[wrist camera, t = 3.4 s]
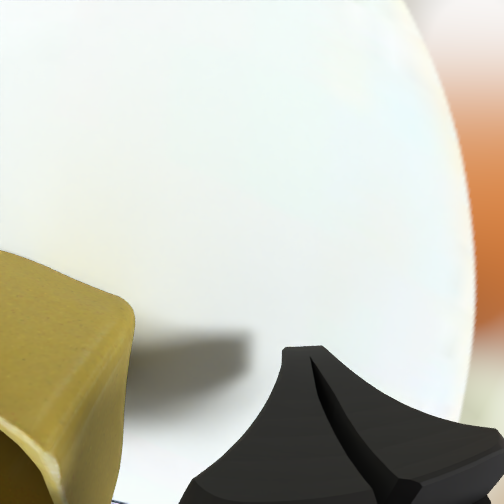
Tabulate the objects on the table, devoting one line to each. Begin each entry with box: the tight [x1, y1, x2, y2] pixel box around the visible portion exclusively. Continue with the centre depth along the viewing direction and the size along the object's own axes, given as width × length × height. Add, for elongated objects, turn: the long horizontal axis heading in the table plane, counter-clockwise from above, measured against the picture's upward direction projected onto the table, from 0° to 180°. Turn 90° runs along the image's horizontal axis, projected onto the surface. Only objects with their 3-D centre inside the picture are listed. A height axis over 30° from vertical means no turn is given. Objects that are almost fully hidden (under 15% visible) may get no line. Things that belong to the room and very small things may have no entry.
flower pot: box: [0, 250, 135, 504], centre depth 8 cm, size 9×9×9 cm
